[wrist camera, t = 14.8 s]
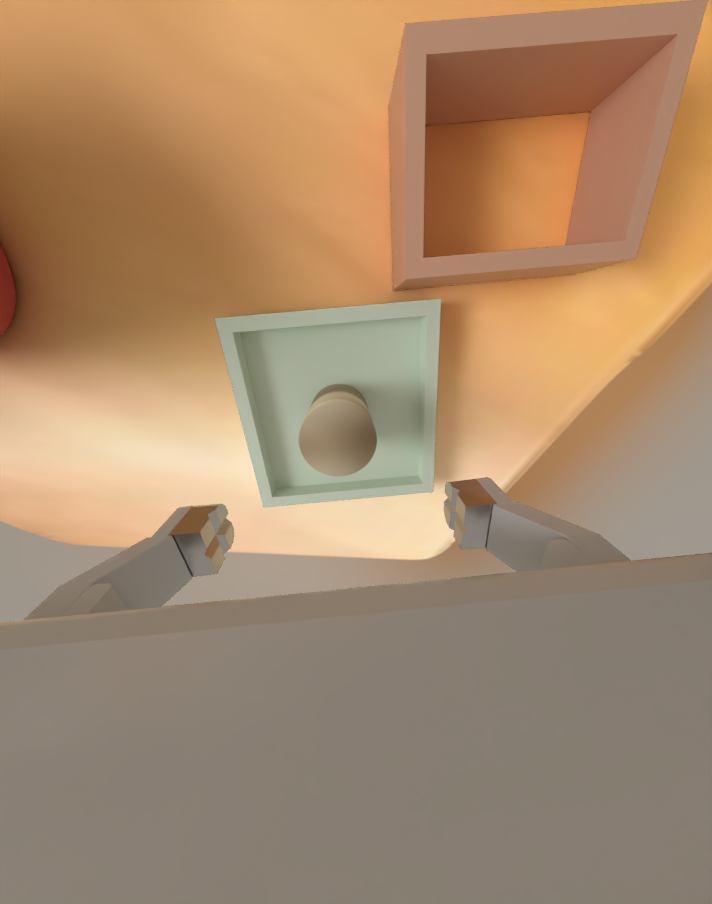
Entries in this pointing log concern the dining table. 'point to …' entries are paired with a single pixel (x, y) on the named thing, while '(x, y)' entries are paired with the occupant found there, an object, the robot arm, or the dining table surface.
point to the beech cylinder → (338, 432)
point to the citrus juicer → (6, 294)
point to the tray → (337, 362)
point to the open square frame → (538, 94)
